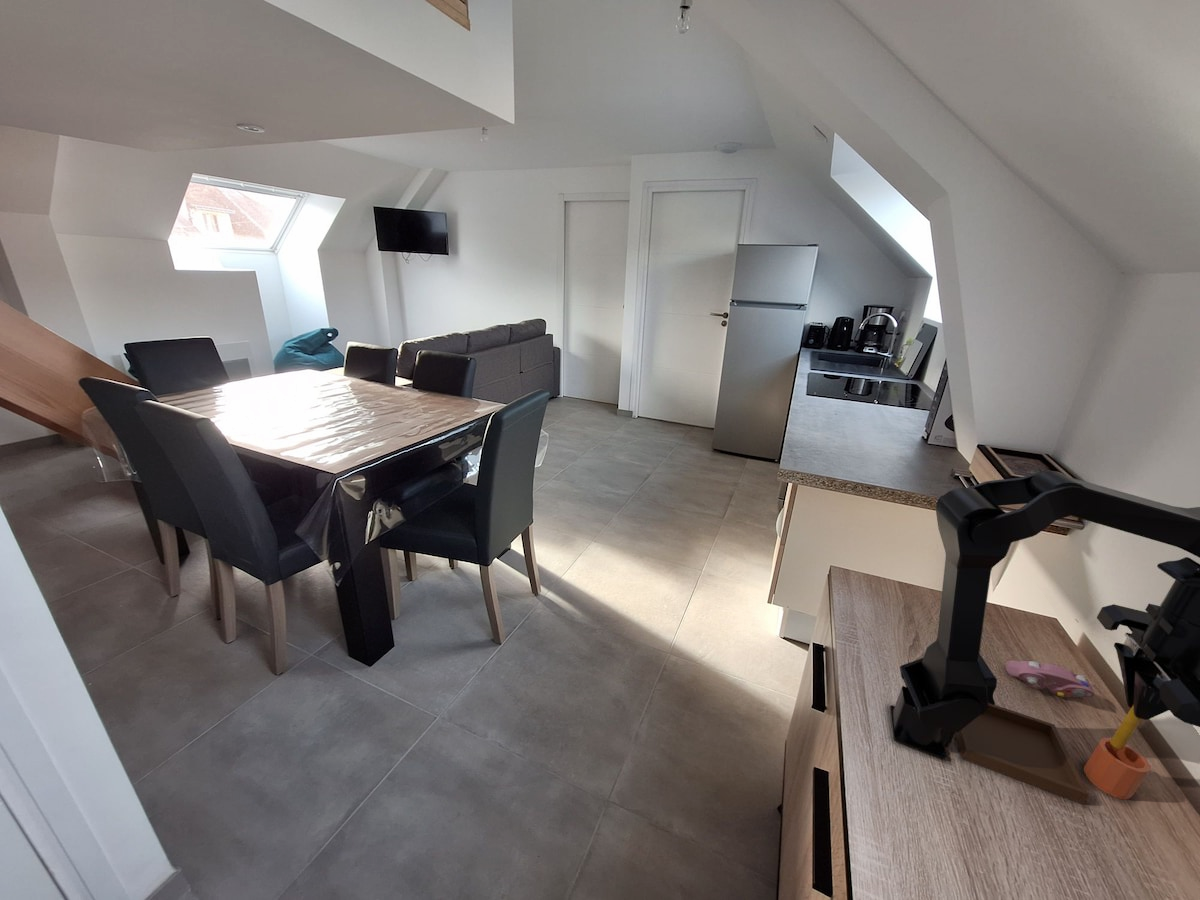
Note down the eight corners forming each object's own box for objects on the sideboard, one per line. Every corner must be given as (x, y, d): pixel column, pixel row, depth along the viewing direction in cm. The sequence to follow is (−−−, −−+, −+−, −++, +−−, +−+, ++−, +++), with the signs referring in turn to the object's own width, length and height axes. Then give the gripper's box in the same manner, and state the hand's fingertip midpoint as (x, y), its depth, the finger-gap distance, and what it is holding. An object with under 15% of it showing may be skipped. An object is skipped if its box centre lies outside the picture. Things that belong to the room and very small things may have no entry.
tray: (961, 758, 65) (966, 748, 64) (945, 698, 74) (949, 689, 74) (1083, 804, 60) (1089, 794, 59) (1049, 733, 69) (1054, 724, 68)
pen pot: (1092, 789, 61) (1110, 761, 60) (1077, 759, 65) (1093, 732, 63) (1138, 806, 60) (1158, 778, 58) (1120, 774, 64) (1138, 747, 62)
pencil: (1112, 747, 60) (1143, 697, 57) (1107, 739, 61) (1138, 690, 58) (1124, 751, 60) (1157, 701, 57) (1119, 743, 61) (1151, 694, 58)
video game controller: (1005, 687, 79) (1025, 673, 74) (1001, 662, 81) (1020, 647, 76) (1079, 710, 75) (1106, 697, 70) (1073, 683, 77) (1098, 668, 73)
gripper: (1391, 708, 42) (1291, 816, 47) (1239, 592, 58) (1178, 684, 63) (1217, 662, 46) (1145, 766, 52) (1120, 567, 62) (1073, 654, 68)
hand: (1136, 712), depth 58 cm, fingers closed on pencil, 1 cm apart
